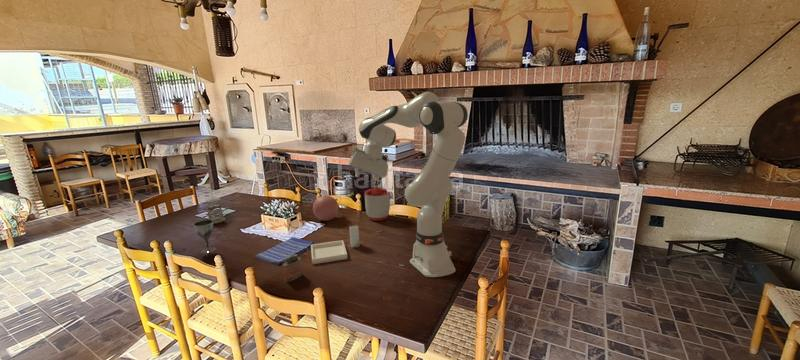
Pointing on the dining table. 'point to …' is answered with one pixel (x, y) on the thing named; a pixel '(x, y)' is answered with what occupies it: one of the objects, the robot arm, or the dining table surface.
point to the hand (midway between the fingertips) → (365, 180)
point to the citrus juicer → (377, 203)
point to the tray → (328, 252)
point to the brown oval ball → (325, 208)
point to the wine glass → (205, 233)
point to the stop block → (354, 236)
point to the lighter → (292, 268)
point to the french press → (217, 215)
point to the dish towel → (285, 250)
